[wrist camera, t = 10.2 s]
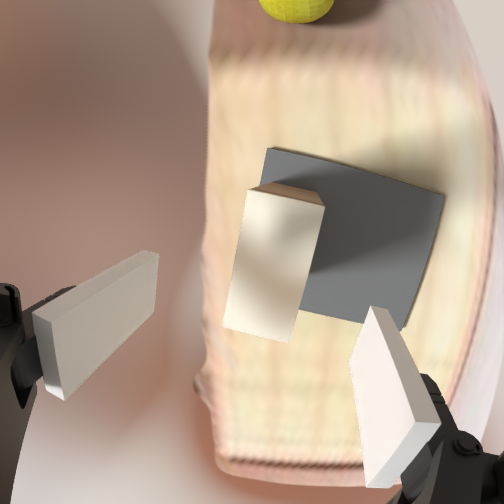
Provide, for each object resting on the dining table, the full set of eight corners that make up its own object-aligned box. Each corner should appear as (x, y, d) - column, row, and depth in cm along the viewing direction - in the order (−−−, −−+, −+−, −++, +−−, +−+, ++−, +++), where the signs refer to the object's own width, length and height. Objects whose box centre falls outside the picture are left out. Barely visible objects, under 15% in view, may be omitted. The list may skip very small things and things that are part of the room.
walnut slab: (271, 182, 28) (247, 189, 16) (316, 192, 27) (325, 207, 16) (254, 267, 30) (222, 326, 18) (296, 277, 29) (288, 343, 18)
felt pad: (268, 148, 27) (267, 147, 27) (442, 195, 26) (444, 196, 25) (238, 292, 31) (237, 294, 31) (399, 328, 30) (401, 331, 29)
